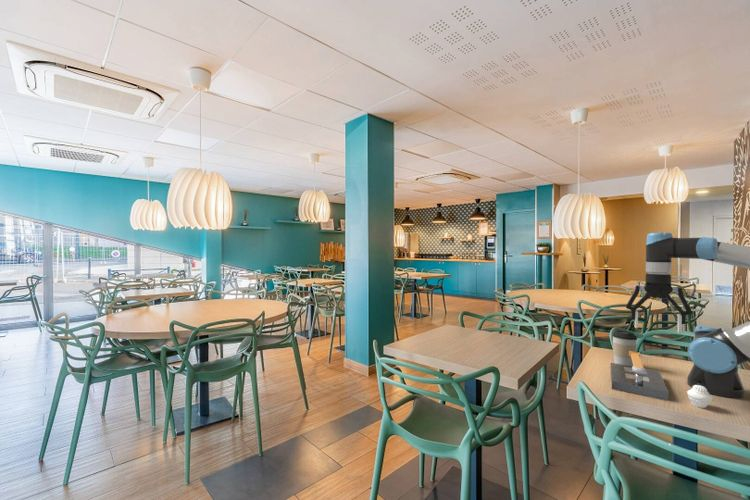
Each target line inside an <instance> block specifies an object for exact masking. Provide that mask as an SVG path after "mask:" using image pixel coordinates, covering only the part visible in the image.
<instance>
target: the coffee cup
mask: <svg viewBox="0 0 750 500" xmlns="http://www.w3.org/2000/svg"><path fill="white" fill-rule="evenodd" d="M611 336H612V351H613V353H612V354H613V363H615V364H621V365H627V366H633V362H632V359H631V357H629V351H632V352H637V351H636V349H637V340H638V337H637V335H635V333H634V332H631V331H627V330H615V331H614V332H613V333H612V335H611Z"/></svg>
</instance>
